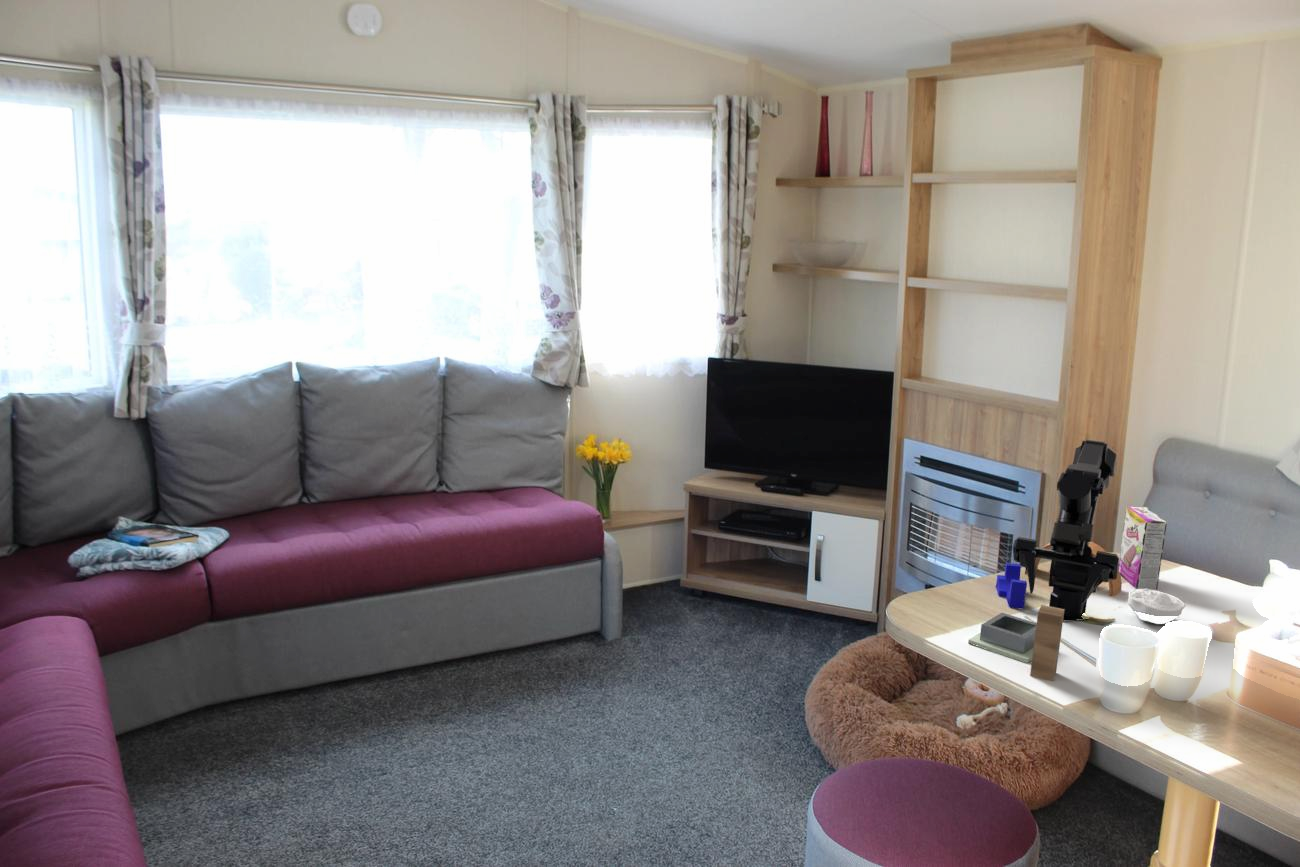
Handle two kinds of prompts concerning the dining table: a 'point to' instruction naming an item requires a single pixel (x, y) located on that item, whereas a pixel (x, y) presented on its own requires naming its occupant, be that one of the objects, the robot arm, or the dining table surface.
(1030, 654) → the base plate
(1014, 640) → the steel collar
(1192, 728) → the dining table surface
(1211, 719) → the dining table surface
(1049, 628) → the walnut post
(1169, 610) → the cell model
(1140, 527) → the candy bar box
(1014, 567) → the cable clip
